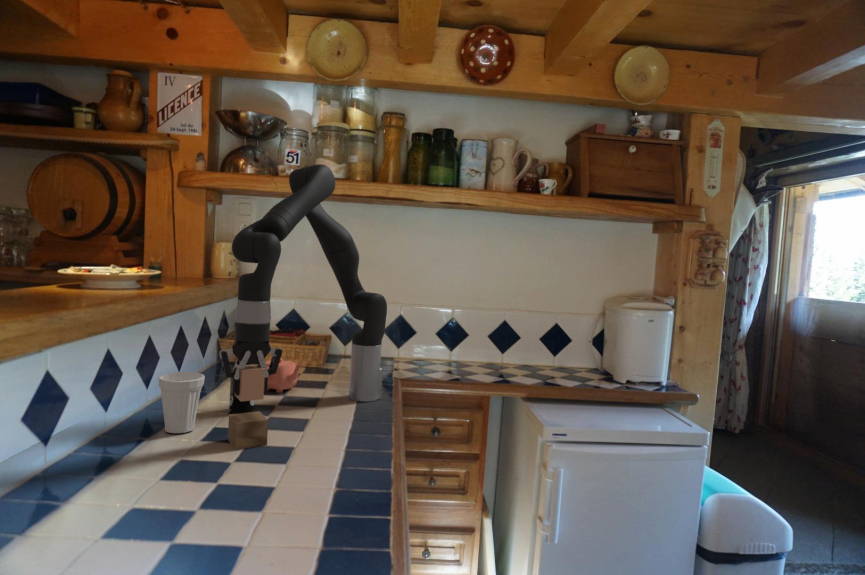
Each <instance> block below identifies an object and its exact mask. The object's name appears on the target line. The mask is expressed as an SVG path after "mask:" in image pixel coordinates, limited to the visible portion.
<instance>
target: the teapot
mask: <svg viewBox="0 0 865 575" xmlns="http://www.w3.org/2000/svg"><path fill="white" fill-rule="evenodd" d="M270 362H271V359H269V360H267V361H265V363H266V366H267V369H269V365H270ZM302 366H304V363H299V364H296V362H293V361H292V360H284V359H283V358H282V357H281V358H280V362H279V365H278V369H277V372H276V374H272V375H270V376H269V377H268V385H267V390H266V391H265V392H267V391H270V390H276V392H275V393H277V394H281V393H283V392H284V390H292V387H295V386H297V382H298V377H299V374H300V373H299V372H300V368H301V367H302Z"/></svg>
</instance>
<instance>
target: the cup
mask: <svg viewBox="0 0 865 575" xmlns="http://www.w3.org/2000/svg"><path fill="white" fill-rule="evenodd" d="M205 380H206V378H205V375H204V373H200V372H192V371H178V372H176V371H175V372H169V373H164V374H161V375H160V376H159V377H158V386H159V389H160V393H161V394H160V396H161V404H162V411H163V412H162V413H163V419H164V420H163V422H164V430H165V432H167V433H170V434H183V433H184V434H185V433H188V432H191V431H193V430H194V429H195V424H196V420H197V419H196V418H197V411H198V406H199V402H200V396H201V391H202V388H203V387H204V384H205Z"/></svg>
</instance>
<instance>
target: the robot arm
mask: <svg viewBox="0 0 865 575" xmlns="http://www.w3.org/2000/svg"><path fill="white" fill-rule="evenodd" d="M288 183H289V187H290V191H291V192H292V194H290V195H288V196H286V197H285V198H283V199H281V201H279V202H277V203H276V204H275V205H273V206H272V207H271V208H270V209H269V210H268V211H267V212H266V214H264V216H263V217H262V218H260V219H259V220H256V221H254V222H253V223H251V224H249V225H248V226H245V227H244V228H243V229H241V230H240V231H239V232H238V233H237V234H236V235H235V236H234V237H233V240H232V243H231V252H232V255H233V257H234V258H235V259H236V260H237V261H239V262H242V263H250V264H257V265H256V268H255V270H254V271H253V272H250V273H243V274H242V275H240V277H239V279H238V283H237V284H238V286H237V301H236V302H237V303H236V308H235V319H234V320H235V322H234V324H235V325H234V343H233V345H232V346H231V348H229V349H220V350H219V351H218V355H219V360H220V364H221V368H222V372H223V375H224V376H225V377H226V378H230V379H231V378H232V392H233V393H234V394H235V395H236V396H239V393H240V379H239V378H240V375H241V369H244V368H245V365H257V366H259V367H260V368H264V369H265V379H264V394H265V392H267V391H266V390H267V385H268V377H269V376H270V375H272V374H276V372H277V369H278V365H279V362H280V358H282V355H283V354H282V353H283V350H282V349H281V348H279V347H272V346H271V345H270V335H271V334H270V331H271V319H272V315H271V314H272V308H271V294H272V293H271V292H272V290H271V288H272V284H273V279H274V274H275V271H276V269H277V267H278V263H279V261H280V257H281V253H282V245H281V242H283V241H284V240H285V239H287V237H288V236H289V235H290V233H291V232H292V231H293V230H294V229H295V227H296V226H297V225H298V224H299V222H301V221H302V220H303V219H304V218H306V219H307V221H308V223H309V224H310V226H311V228H312V230H313V232H314V234H315V236H316V238H317V241H318V243H319V244H320V247H321V249H322V251H323V253H324V256H325V258H326V260H327V261H328V264H329V265H330V268H331V269H332V272H333V274H334V276H335V278H336V281H337V283H338V285H339V287H340V289H341V290H340V291H341V294H342V295H343V298H344V301H345V305H346V306H347V307H346V308H347V310H348V312H349V314H350V315H351V317H352V318H353V319H354V320H357V321H359V322H360V321H361V322H363V326H362V329H361V330H360V331H357V332H354V333H353V334H352V338H351V353H350V370H349V383H348V384H349V387H348V399H350V400H352V401H356V402H364V403H365V402H373V401H377V400H380V399H381V398H382V384H383V383H382V382H383V368H382V367H381V362H382V360H381V359H382V342H383V339H384V335H385V333H386V326H387V325H386V323H387V313H388V304H387V300H386V298H385V297H384V295H383V294H381V293H377V292H369V291H367V290H365V289H364V287H363V285H362V283H361V281H360V279H359V270H358V269H359V264H360V254H359V250H358V247H357V245H356V243H355V241H354V239H353V236H352V234H351V233H350V232H349V230H347V228H345V227H344V226H343V225H342V224H340V222H338V221H337V220H336V219H334V217H331V215H330V214H328V213H327V211H326V210H325V209H324V208H323V206H322V204H321V203H322V202H324V201H325V200H326V199H328V198H330V197H331V196H332V195H333V194H334V191H335V188H336V178H335V174H334V173H333V171H332V169H331V168H330V167H329V166H327V165H325V164H321V163H320V164H312V165H308V166H304V167H299V168H296V169H293V170H292V171H291V172H290V174H289V177H288ZM269 353H270V357H271V359H270V360H271V362H270V365H269V369H267V366H266V363H265V362H266V360H265V359H266V357H267V356H268V355H269ZM232 355H234V357H235V358H236V361H235V363H234V366H233V367H234V370H233V369H232V370H231V365H230V361H229V360H230V359H231V358H232ZM232 371H233V372H232ZM381 400H382V399H381Z"/></svg>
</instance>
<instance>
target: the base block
mask: <svg viewBox="0 0 865 575" xmlns="http://www.w3.org/2000/svg"><path fill="white" fill-rule="evenodd" d="M268 430H269V419H268V418H267V417H266V416H265V415H264V414H263V413H262V412H261V411H252V412H249V413H239V414H235V413H232V414H228V429H227V440H228V442H229V443H230V445H231V446H232V447H233V449H234V450H242V449H249V448H257V447H264V446H268V433H269V432H268Z"/></svg>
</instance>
